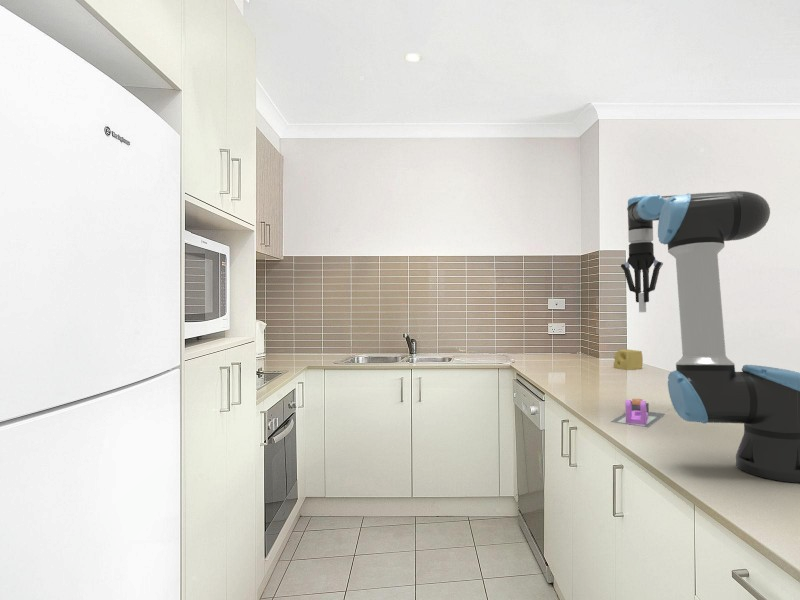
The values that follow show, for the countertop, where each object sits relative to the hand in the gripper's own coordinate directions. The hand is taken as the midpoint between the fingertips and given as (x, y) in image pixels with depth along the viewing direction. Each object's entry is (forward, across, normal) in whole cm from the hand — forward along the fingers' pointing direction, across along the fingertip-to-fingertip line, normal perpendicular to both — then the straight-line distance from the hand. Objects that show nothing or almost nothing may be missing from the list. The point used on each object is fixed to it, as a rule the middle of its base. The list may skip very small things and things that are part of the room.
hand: (642, 312), depth 164 cm
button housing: (+34, +2, +2) cm, 34 cm away
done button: (+34, +2, +2) cm, 34 cm away
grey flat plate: (+34, 0, +9) cm, 36 cm away
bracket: (+34, -1, +12) cm, 36 cm away
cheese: (+35, +36, -103) cm, 115 cm away
